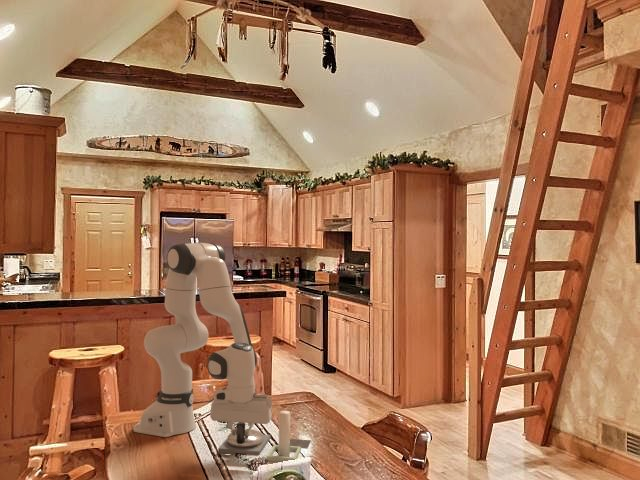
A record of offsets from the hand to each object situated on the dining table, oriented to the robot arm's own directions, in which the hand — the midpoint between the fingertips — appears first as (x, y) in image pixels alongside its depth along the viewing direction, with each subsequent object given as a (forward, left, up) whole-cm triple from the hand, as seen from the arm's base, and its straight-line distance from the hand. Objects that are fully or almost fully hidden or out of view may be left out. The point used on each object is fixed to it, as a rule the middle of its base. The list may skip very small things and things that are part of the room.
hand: (240, 434), depth 164 cm
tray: (+15, -1, -6) cm, 16 cm away
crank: (0, +5, -4) cm, 6 cm away
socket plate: (+18, +9, -6) cm, 21 cm away
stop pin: (+15, -1, -5) cm, 16 cm away
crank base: (0, +5, -6) cm, 8 cm away
